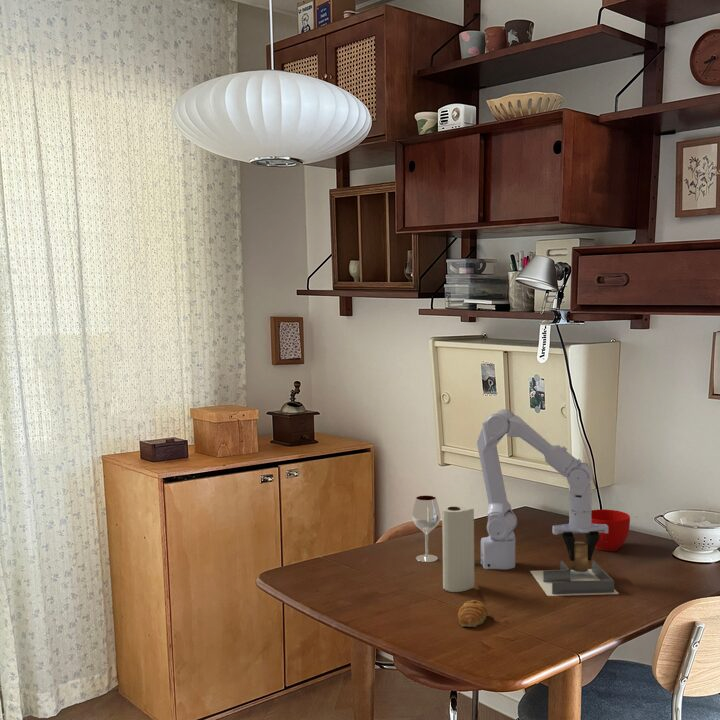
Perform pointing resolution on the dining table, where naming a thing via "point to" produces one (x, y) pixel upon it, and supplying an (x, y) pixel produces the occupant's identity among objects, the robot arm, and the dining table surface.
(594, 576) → the track board
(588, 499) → the robot arm
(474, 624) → the pastry
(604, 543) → the ceramic cup
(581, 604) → the dining table surface
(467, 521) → the paper towel roll
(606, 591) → the metal rails
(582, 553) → the oak dowel
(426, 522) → the wineglass
